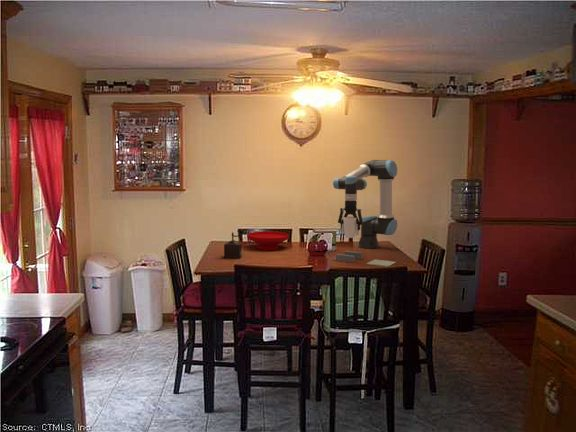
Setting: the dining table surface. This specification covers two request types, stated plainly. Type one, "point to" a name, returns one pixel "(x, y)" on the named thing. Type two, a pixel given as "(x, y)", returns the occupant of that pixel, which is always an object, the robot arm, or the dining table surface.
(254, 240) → the bowl
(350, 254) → the clamp
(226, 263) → the dining table surface
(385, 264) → the pad
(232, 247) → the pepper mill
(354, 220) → the foam cup
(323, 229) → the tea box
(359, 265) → the dining table surface
